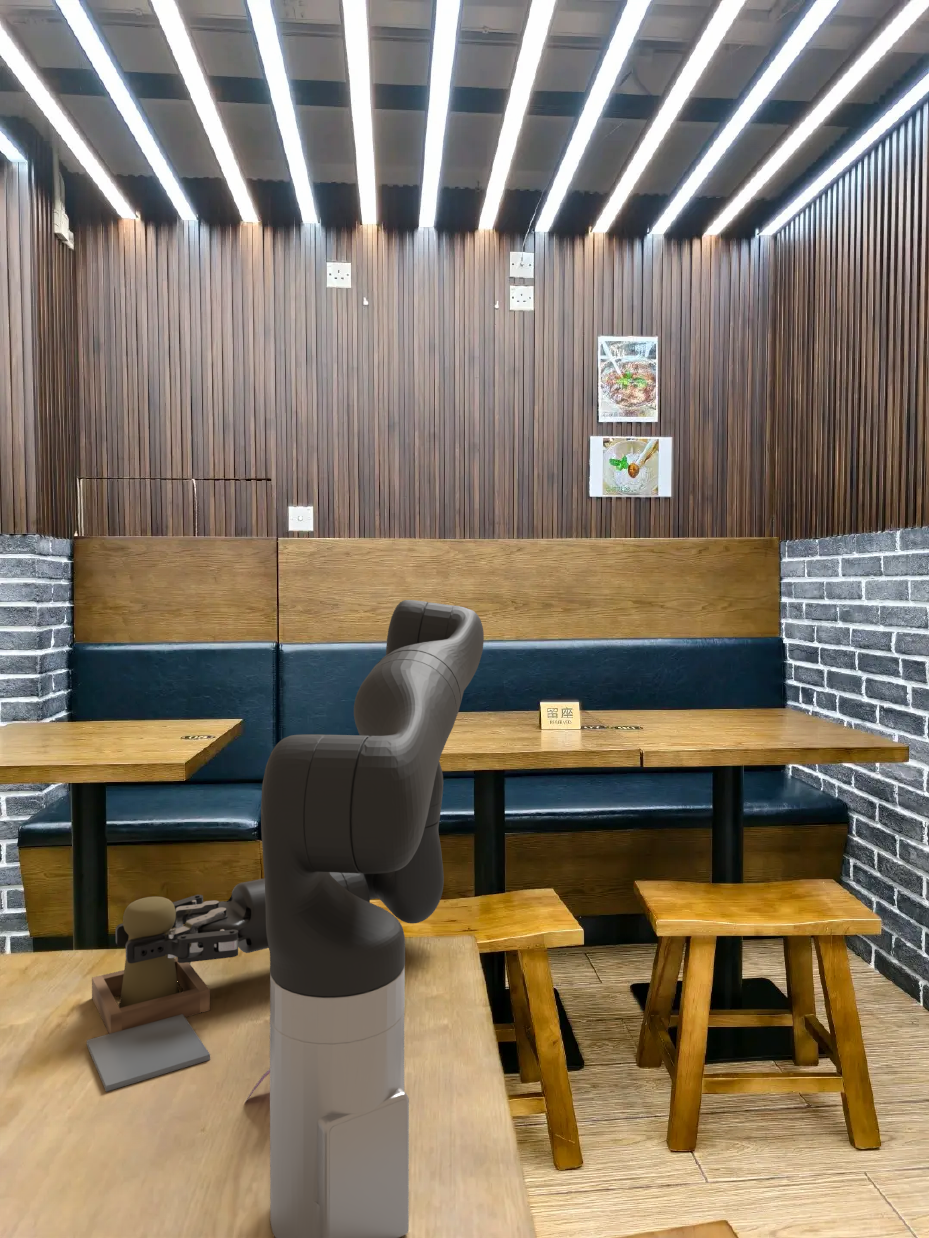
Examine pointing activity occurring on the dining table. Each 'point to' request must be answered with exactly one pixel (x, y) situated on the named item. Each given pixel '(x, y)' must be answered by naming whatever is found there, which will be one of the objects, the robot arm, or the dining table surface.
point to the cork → (154, 973)
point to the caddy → (152, 1010)
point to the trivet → (146, 1051)
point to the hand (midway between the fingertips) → (122, 943)
